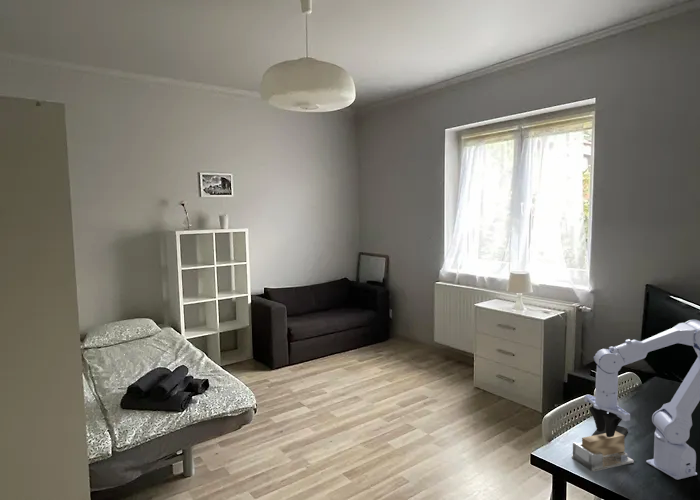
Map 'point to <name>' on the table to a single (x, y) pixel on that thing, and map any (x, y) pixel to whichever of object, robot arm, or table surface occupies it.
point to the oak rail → (604, 443)
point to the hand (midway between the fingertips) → (605, 433)
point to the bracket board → (598, 458)
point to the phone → (618, 429)
